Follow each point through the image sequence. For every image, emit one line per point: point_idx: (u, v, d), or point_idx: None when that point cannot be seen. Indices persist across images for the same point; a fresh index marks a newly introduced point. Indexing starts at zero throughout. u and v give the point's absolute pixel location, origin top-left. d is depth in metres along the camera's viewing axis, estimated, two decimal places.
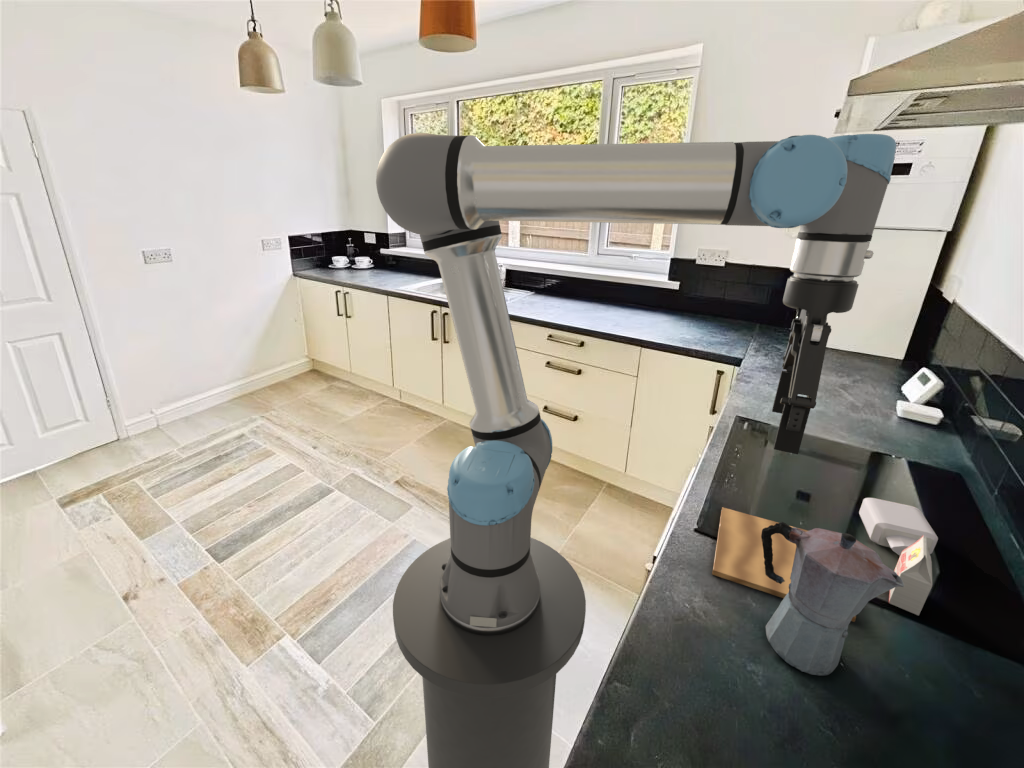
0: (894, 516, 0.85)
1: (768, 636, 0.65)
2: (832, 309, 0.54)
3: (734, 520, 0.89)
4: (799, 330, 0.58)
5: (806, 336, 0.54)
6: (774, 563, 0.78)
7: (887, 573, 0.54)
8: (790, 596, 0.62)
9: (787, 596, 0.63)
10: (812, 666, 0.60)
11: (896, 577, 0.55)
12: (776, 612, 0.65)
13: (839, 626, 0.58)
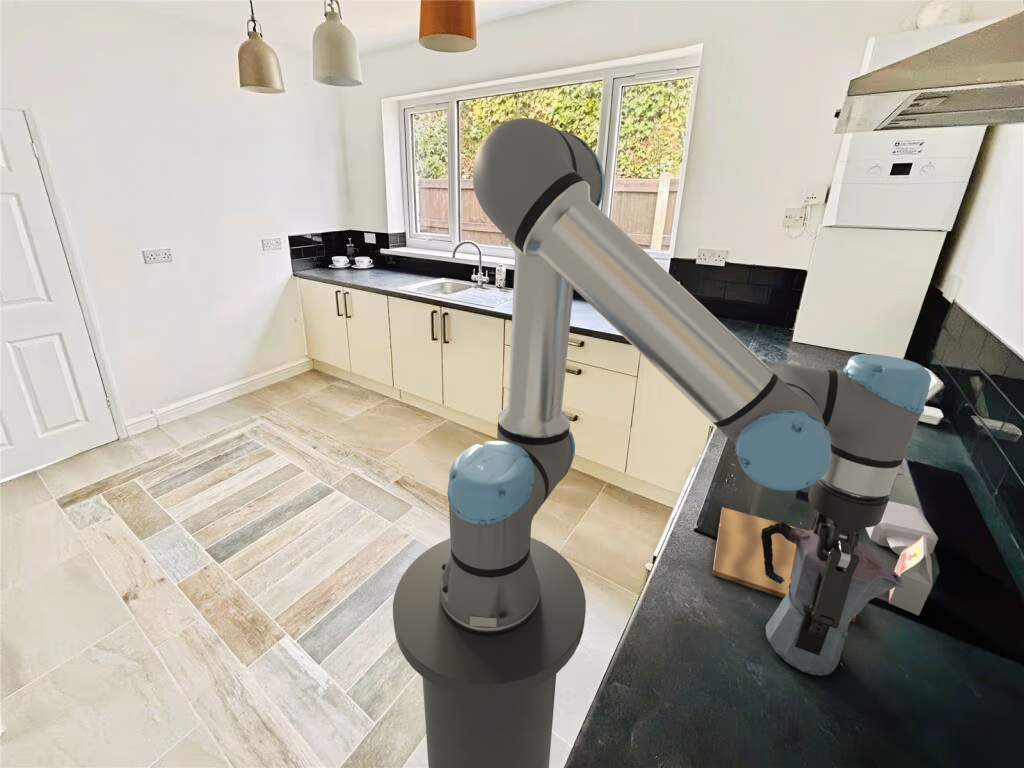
0: (894, 516, 0.85)
1: (768, 636, 0.65)
2: (861, 525, 0.53)
3: (734, 520, 0.89)
4: (825, 535, 0.56)
5: (832, 563, 0.52)
6: (774, 563, 0.78)
7: (887, 573, 0.55)
8: (790, 596, 0.62)
9: (787, 596, 0.63)
10: (812, 666, 0.60)
11: (896, 577, 0.55)
12: (776, 612, 0.65)
13: (839, 626, 0.58)
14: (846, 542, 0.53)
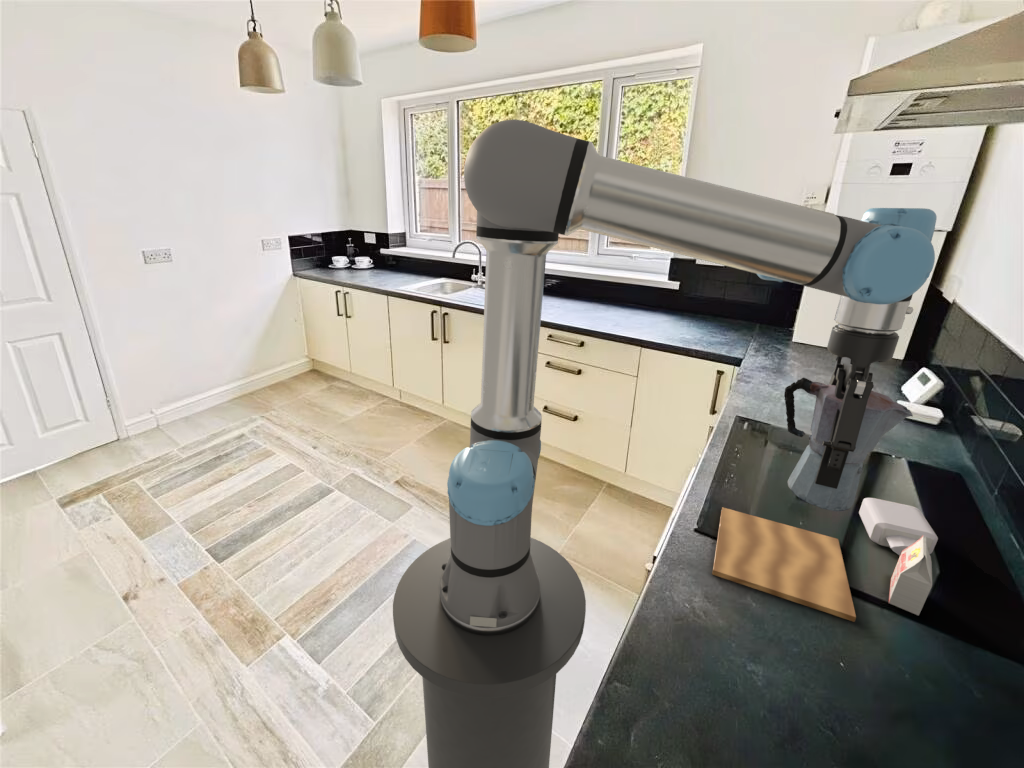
0: (894, 516, 0.85)
1: (790, 486, 0.73)
2: (875, 359, 0.60)
3: (734, 520, 0.89)
4: (843, 377, 0.64)
5: (850, 391, 0.60)
6: (774, 563, 0.78)
7: (898, 406, 0.62)
8: (810, 444, 0.70)
9: (807, 447, 0.71)
10: (830, 502, 0.68)
11: (906, 410, 0.62)
12: (797, 464, 0.73)
13: (855, 461, 0.66)
14: (862, 375, 0.61)
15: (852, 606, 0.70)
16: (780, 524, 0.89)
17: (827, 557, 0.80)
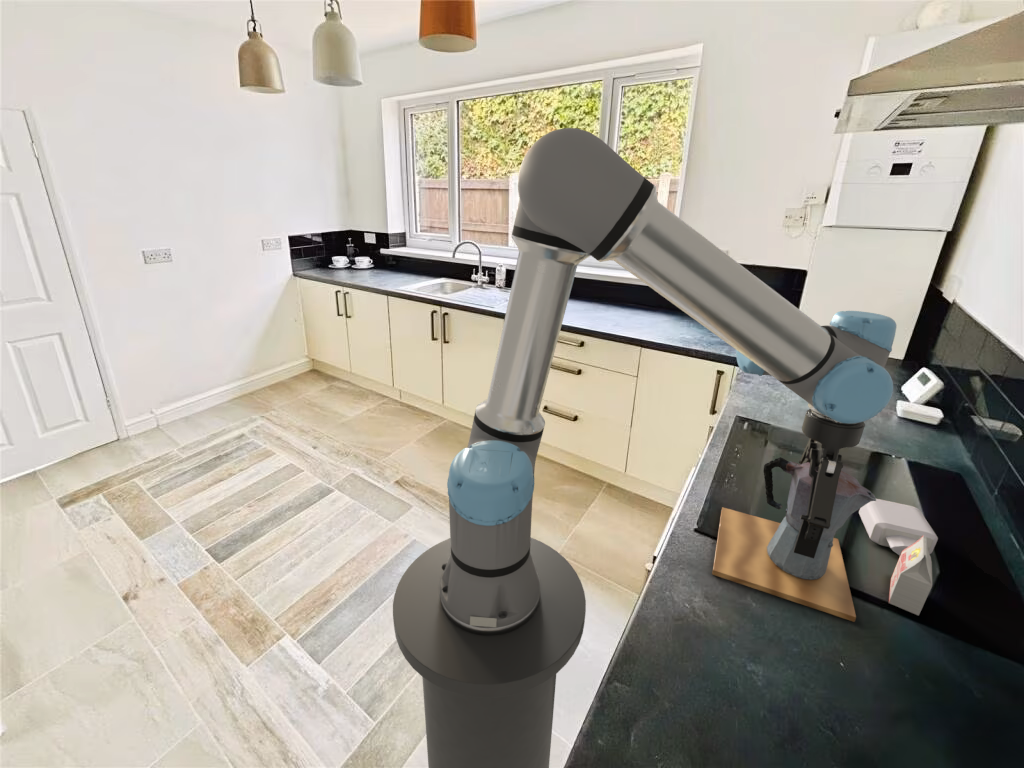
0: (894, 516, 0.85)
1: (769, 553, 0.79)
2: (843, 445, 0.67)
3: (734, 520, 0.89)
4: (815, 456, 0.70)
5: (822, 469, 0.66)
6: (774, 563, 0.78)
7: (863, 491, 0.69)
8: (787, 517, 0.76)
9: (784, 519, 0.78)
10: (804, 572, 0.75)
11: (870, 494, 0.69)
12: (775, 533, 0.79)
13: (826, 537, 0.72)
14: None
15: (852, 606, 0.70)
16: None
17: None
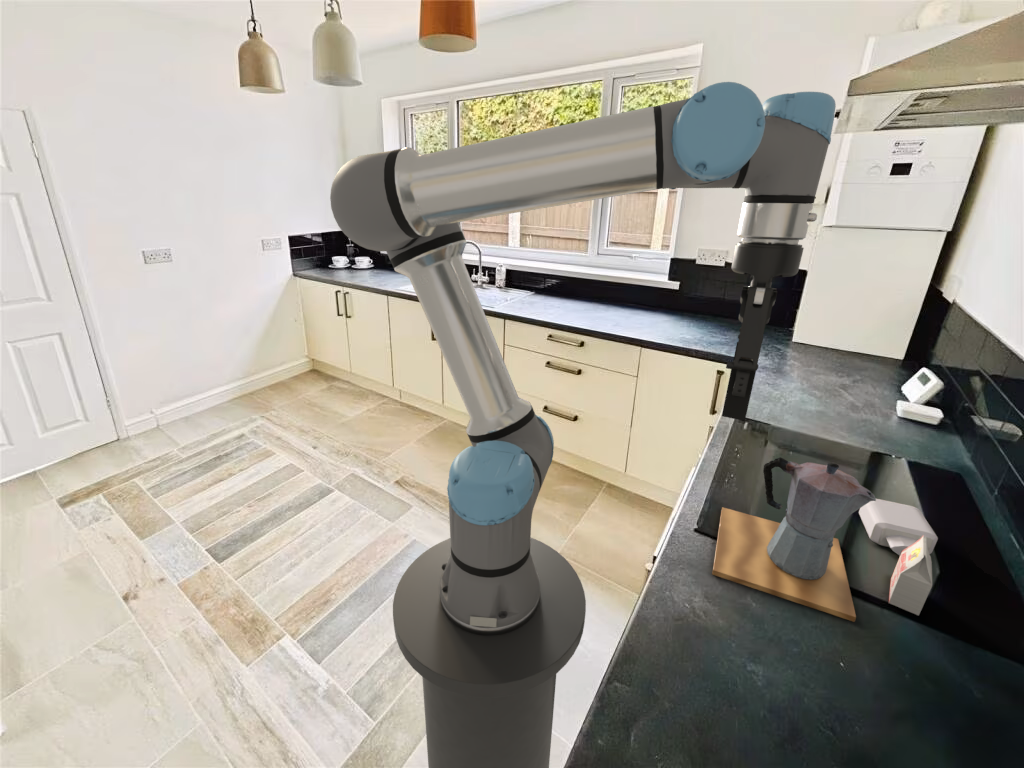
0: (894, 516, 0.85)
1: (769, 553, 0.79)
2: (776, 272, 0.54)
3: (734, 520, 0.89)
4: (746, 296, 0.57)
5: (749, 299, 0.53)
6: (774, 563, 0.78)
7: (863, 491, 0.69)
8: (787, 517, 0.76)
9: (784, 519, 0.78)
10: (804, 572, 0.75)
11: (870, 494, 0.69)
12: (775, 533, 0.79)
13: (826, 537, 0.72)
14: None
15: (852, 606, 0.70)
16: None
17: None
